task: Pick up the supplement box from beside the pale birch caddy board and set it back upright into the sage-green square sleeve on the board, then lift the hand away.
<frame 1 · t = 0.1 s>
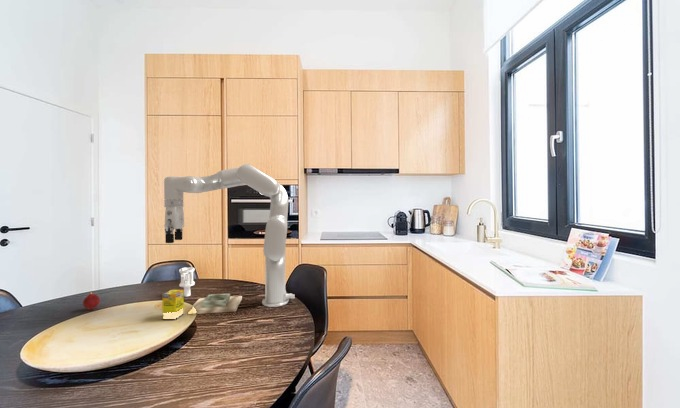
hand: (174, 241, 129), 31 cm above the table, tool pointing down, fingers open, 9 cm apart
supplement box: (173, 317, 121), on the table
onion: (91, 310, 129), on the table
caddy: (216, 306, 133), on the table
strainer: (187, 295, 148), on the table
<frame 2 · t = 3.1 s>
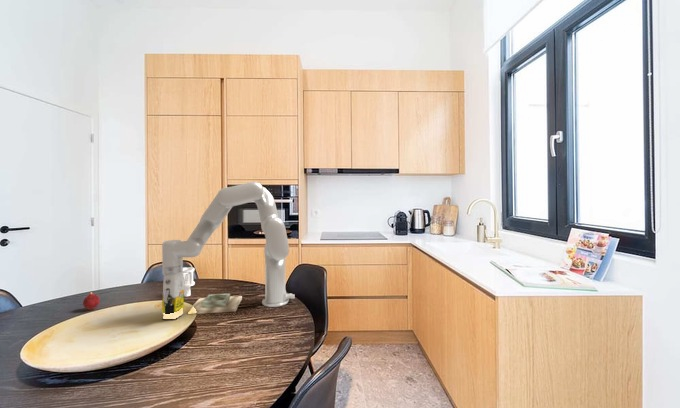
hand: (173, 310, 121), 3 cm above the table, tool pointing down, fingers closed on supplement box, 6 cm apart
supplement box: (173, 317, 121), on the table, touching gripper
everything else where it was.
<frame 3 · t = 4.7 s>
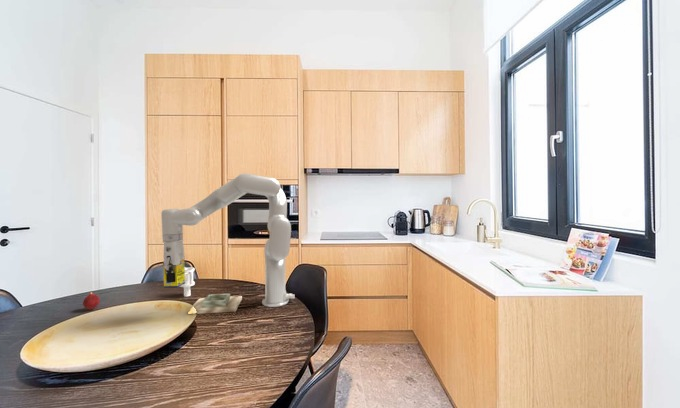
hand: (174, 279, 121), 16 cm above the table, tool pointing down, fingers closed on supplement box, 6 cm apart
supplement box: (175, 286, 121), point 13 cm above the table, touching gripper
everything else where it was.
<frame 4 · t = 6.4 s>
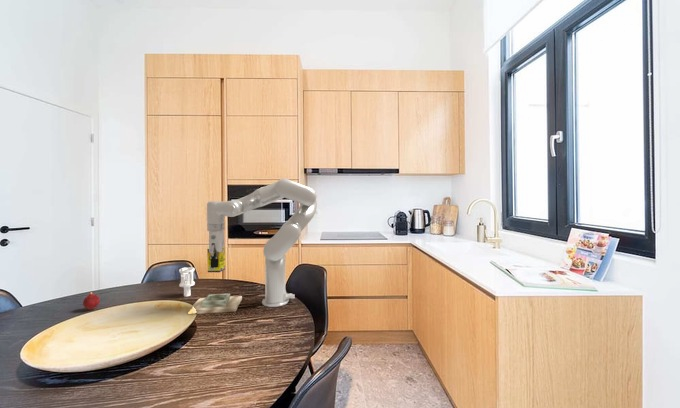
hand: (216, 265, 133), 19 cm above the table, tool pointing down, fingers closed on supplement box, 6 cm apart
supplement box: (216, 271, 133), point 16 cm above the table, touching gripper
everything else where it was.
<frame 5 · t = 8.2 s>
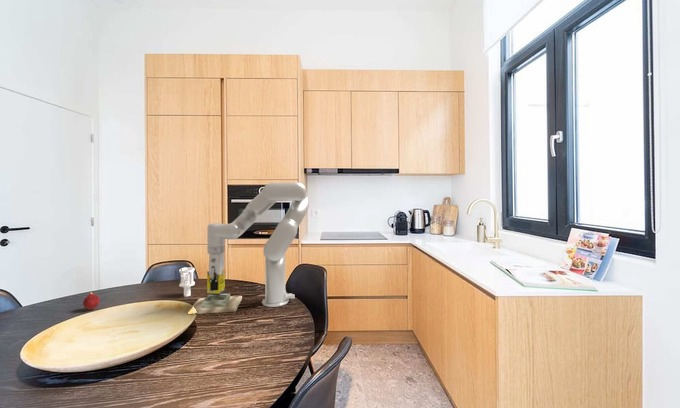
hand: (216, 287, 133), 9 cm above the table, tool pointing down, fingers closed on supplement box, 6 cm apart
supplement box: (216, 293, 133), point 6 cm above the table, touching gripper
everything else where it was.
when the fingers open (7 cm above the table, at t = 9.5 s): supplement box drops 3 cm, resting on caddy.
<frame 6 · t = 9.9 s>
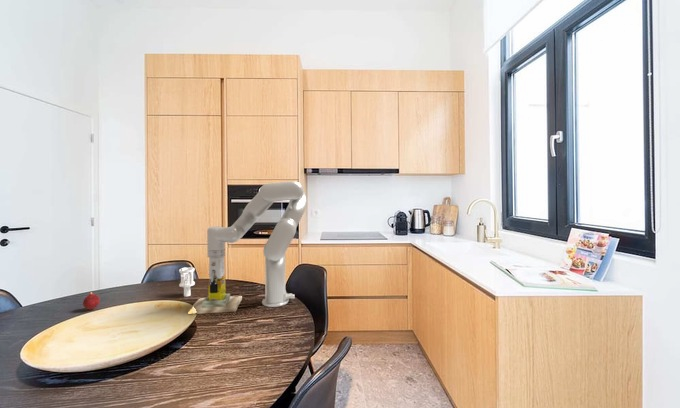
hand: (216, 289, 133), 8 cm above the table, tool pointing down, fingers open, 9 cm apart
supplement box: (217, 302, 134), point 1 cm above the table, touching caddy
everything else where it was.
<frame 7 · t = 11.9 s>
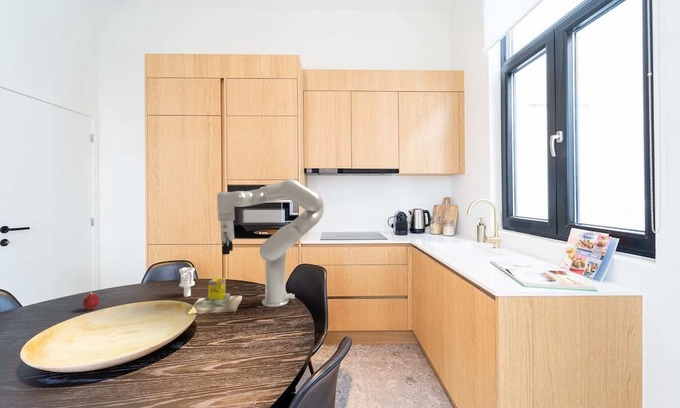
hand: (227, 252, 138), 24 cm above the table, tool pointing down, fingers open, 9 cm apart
nothing on the table moved.
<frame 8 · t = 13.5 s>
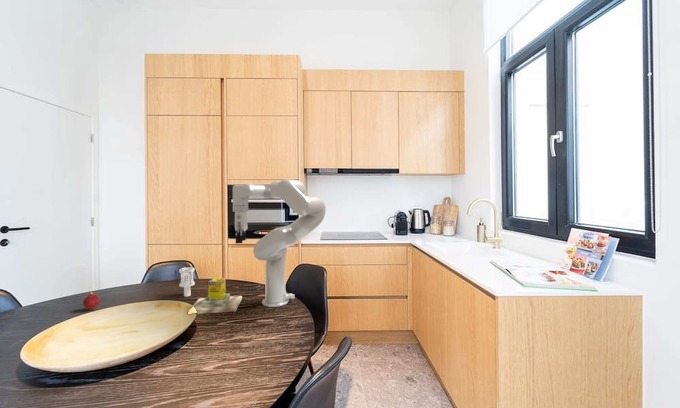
hand: (240, 241, 146), 28 cm above the table, tool pointing down, fingers open, 9 cm apart
nothing on the table moved.
at the end: supplement box 0.5 cm off-centre on the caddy, point 1.3 cm above the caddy's base; supplement box tilted 0°; the gripper is holding nothing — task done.
